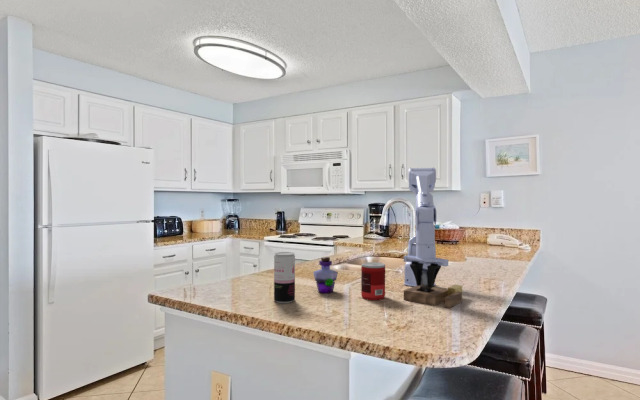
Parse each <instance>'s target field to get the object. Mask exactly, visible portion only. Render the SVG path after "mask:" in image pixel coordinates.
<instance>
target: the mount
mask: <svg viewBox="0 0 640 400" xmlns="http://www.w3.org/2000/svg"><path fill="white" fill-rule="evenodd" d="M462 300H463V291H462V292H456V293H454V294H451V295H449V296H448V289H443V288H437V287H432V288H431V292H430V293H428V292H422V291H420V286H411V287H410V288H407V289H404V290H403V301H409V302H412V303H413V302H415V303H420V304H425V305H429V306H430V305H431V306H437V305H439V304H441V303H444V308H446V309H451V308H452V307H456V306H457V305H458V304H460V303H461V302H463V301H462Z"/></svg>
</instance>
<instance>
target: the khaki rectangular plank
mask: <svg viewBox="0 0 640 400" xmlns="http://www.w3.org/2000/svg"><path fill="white" fill-rule="evenodd" d="M447 290H448V296H449V295H451V294H454V293H456V292H462V293H463V285H461V284H453V285H451V286H448V287H447Z"/></svg>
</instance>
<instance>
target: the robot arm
mask: <svg viewBox="0 0 640 400" xmlns="http://www.w3.org/2000/svg"><path fill="white" fill-rule="evenodd" d="M436 181H437V169H436V168H435V167H413V168H412V167H409V168H408V189H409V191H410V192H412V193H414V198H415V210H414V222H415V235H414V236H412V237H411V238H410V239H409V240H408V245H407V246H408V247H407V251H408V252H407V255H403V263H404V264H405V266H404V283H403V285H404V286H410V287H415V286H420V269H423V268H424V269H428V274H429V288H435V286H437V284H436V283H435V282H436V279H437V276H438V274H439V271H440V270H441V268H442V267H448V266H449V259H446V258H445V259H444V258H439V257H436V256H437V255H436V254H437V251H436V248H437V247H436V242H435V237H436V236H435V235H436V231H435V230H436V228H435V227H436V223H437V217H438V216H437V208H436V205H435V203H434V197H433V194H432V193H431V192H433V191H434V190H435V186H436V183H437V182H436Z"/></svg>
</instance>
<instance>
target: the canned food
mask: <svg viewBox="0 0 640 400" xmlns="http://www.w3.org/2000/svg"><path fill="white" fill-rule="evenodd" d="M360 267H361V269H360V270H361V275H360V276H361V277H360V278H361V281H360V283H361V285H360V286H361V287H360V288H361V290H360V291H361V292H360V293H361V298H362V299H363V298H364V299H363V300H366V299H368V300H367V301H381V300H380V299H382V300H383V299H385V297H386V264H385V263H383V262H377V261H376V262H375V261H374V262H371V261H369V262H363V263H361V266H360Z"/></svg>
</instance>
